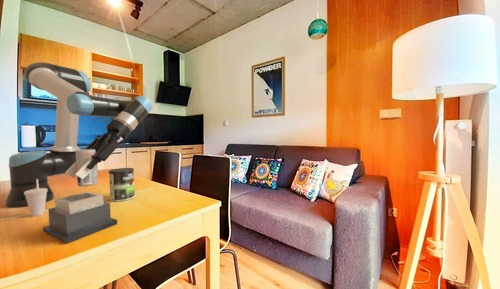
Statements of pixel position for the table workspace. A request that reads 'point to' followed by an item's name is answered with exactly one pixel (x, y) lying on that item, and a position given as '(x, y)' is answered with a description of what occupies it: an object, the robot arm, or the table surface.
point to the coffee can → (121, 184)
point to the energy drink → (81, 159)
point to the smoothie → (36, 200)
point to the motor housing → (78, 217)
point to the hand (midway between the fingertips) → (74, 175)
